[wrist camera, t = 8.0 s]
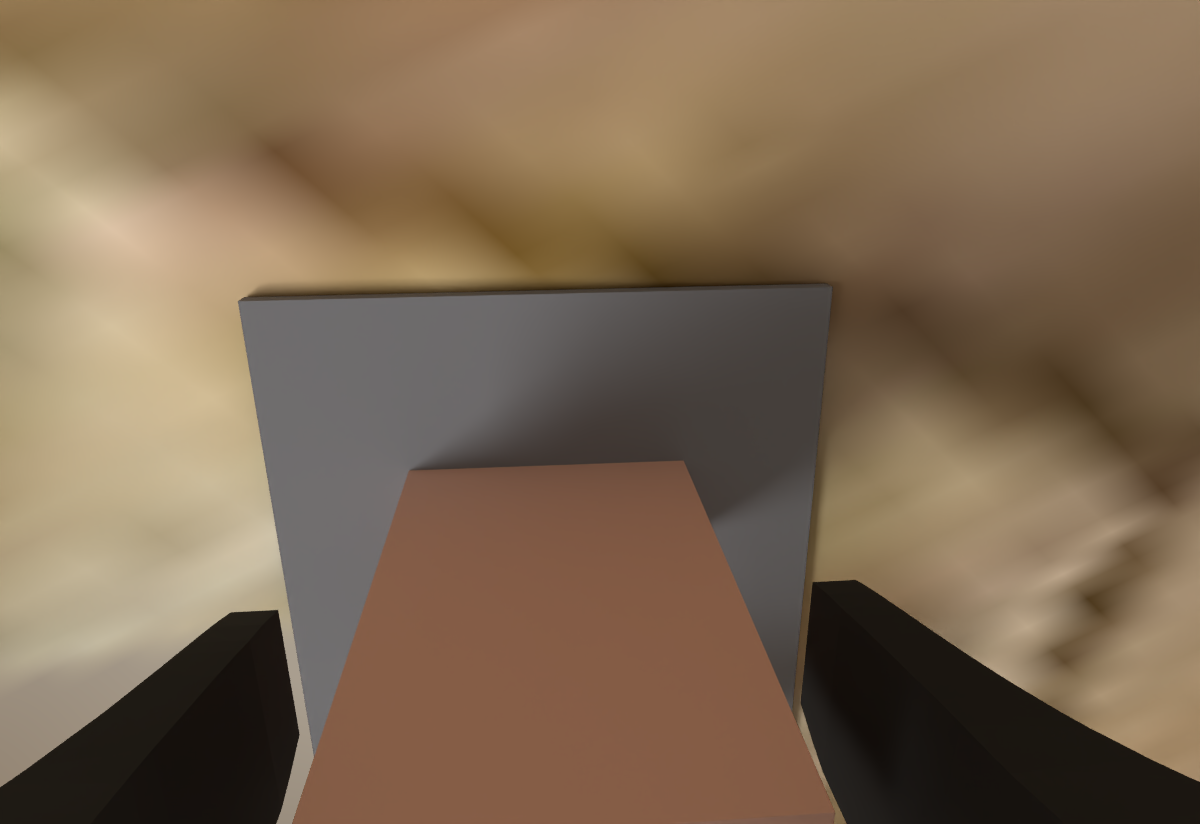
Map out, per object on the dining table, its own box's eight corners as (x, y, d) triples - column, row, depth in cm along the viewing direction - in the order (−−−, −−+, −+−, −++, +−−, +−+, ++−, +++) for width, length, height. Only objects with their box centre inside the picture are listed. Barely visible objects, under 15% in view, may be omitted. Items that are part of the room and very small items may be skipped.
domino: (680, 536, 16) (819, 933, 8) (416, 548, 15) (306, 976, 8) (683, 460, 15) (835, 812, 8) (408, 470, 15) (283, 850, 7)
